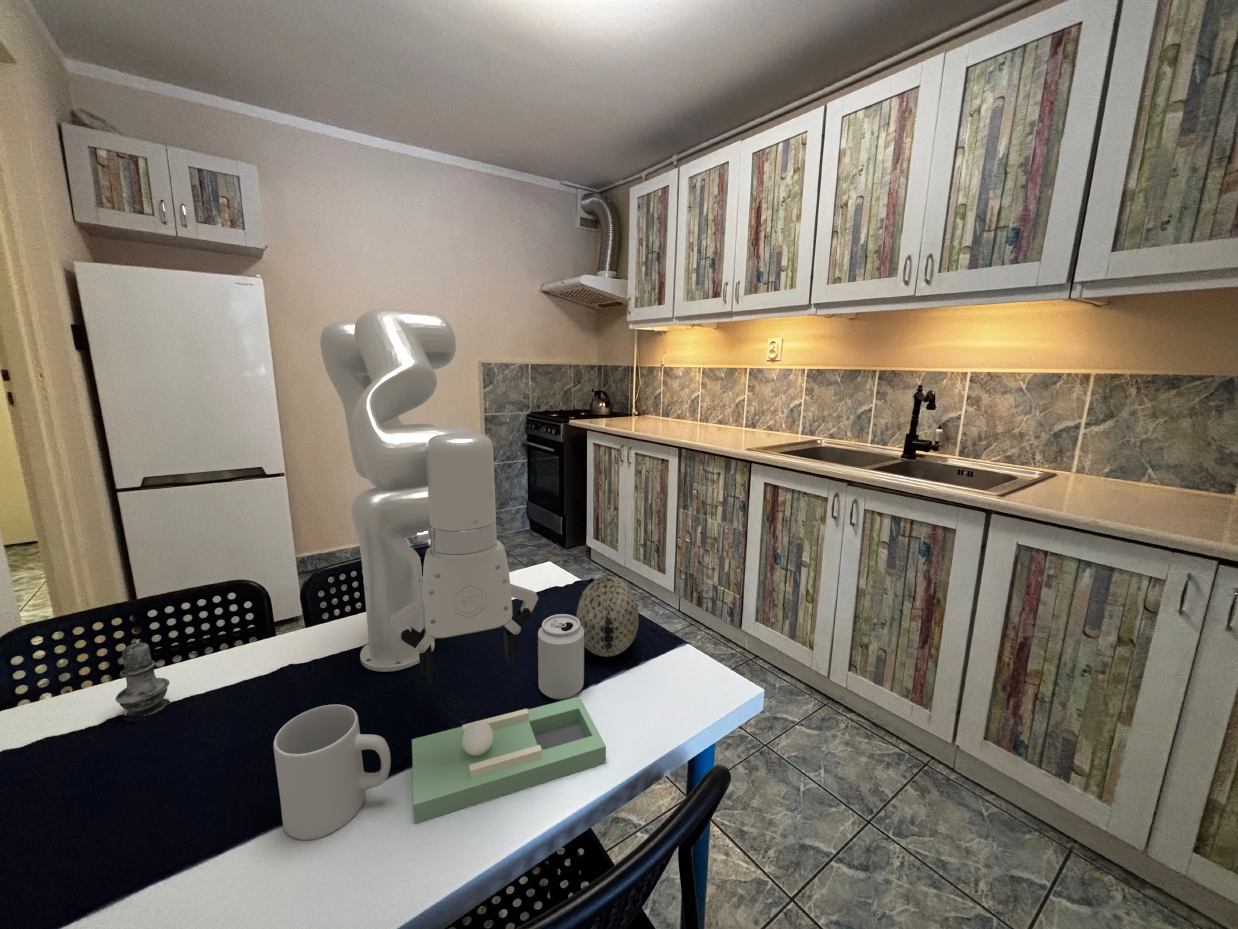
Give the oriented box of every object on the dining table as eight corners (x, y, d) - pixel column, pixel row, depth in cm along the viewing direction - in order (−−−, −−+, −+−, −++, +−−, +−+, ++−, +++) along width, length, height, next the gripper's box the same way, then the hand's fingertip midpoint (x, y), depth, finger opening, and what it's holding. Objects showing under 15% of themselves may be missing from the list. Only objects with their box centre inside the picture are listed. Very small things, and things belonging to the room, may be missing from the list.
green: (413, 756, 67) (411, 731, 66) (579, 711, 76) (579, 689, 76) (414, 824, 57) (412, 796, 56) (605, 762, 67) (606, 738, 66)
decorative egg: (635, 635, 98) (637, 565, 96) (639, 671, 87) (642, 592, 84) (577, 635, 98) (577, 565, 95) (573, 671, 87) (574, 592, 84)
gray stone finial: (180, 705, 76) (168, 634, 74) (131, 729, 71) (116, 654, 68) (161, 693, 78) (148, 625, 76) (111, 716, 73) (96, 643, 71)
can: (576, 706, 78) (576, 637, 75) (531, 699, 79) (530, 631, 77) (588, 677, 85) (589, 613, 82) (547, 671, 86) (547, 608, 84)
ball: (460, 745, 66) (459, 718, 65) (491, 736, 67) (490, 711, 67) (464, 767, 62) (462, 739, 61) (496, 757, 64) (495, 730, 63)
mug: (267, 845, 54) (255, 759, 52) (305, 781, 63) (296, 705, 60) (381, 834, 56) (374, 750, 54) (403, 773, 64) (398, 699, 62)
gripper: (383, 557, 52) (394, 702, 55) (543, 537, 59) (545, 667, 62) (385, 536, 59) (395, 666, 62) (528, 520, 65) (531, 638, 68)
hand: (470, 667), depth 62 cm, fingers open, 9 cm apart
